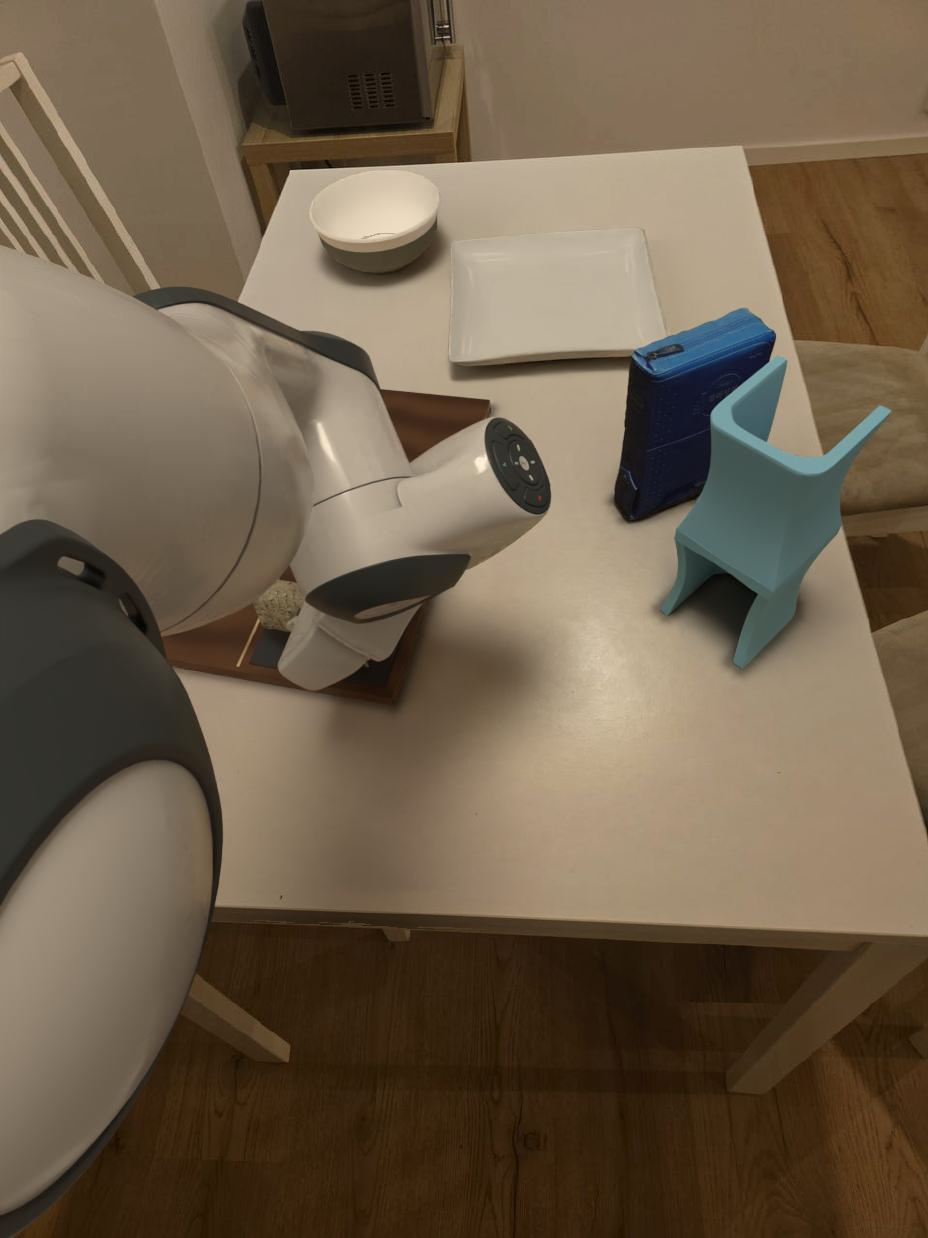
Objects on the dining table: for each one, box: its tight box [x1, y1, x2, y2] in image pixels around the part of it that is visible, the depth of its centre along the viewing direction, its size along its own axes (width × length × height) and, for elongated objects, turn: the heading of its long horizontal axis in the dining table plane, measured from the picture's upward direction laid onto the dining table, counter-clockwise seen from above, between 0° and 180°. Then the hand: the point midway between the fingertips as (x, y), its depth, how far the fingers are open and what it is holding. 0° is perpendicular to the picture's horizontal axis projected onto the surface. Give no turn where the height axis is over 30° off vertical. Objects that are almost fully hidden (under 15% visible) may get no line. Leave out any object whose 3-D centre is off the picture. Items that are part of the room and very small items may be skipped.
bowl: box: [308, 169, 442, 275], centre depth 116 cm, size 19×19×8 cm
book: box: [613, 307, 777, 521], centre depth 81 cm, size 14×5×20 cm, turn 115°
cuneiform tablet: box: [253, 580, 372, 669], centre depth 75 cm, size 7×4×12 cm
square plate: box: [447, 227, 670, 367], centre depth 107 cm, size 27×27×4 cm
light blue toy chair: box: [659, 354, 893, 670], centre depth 70 cm, size 10×10×25 cm
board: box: [162, 388, 492, 707], centre depth 90 cm, size 42×26×2 cm, turn 166°
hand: (304, 603), depth 74 cm, fingers closed on cuneiform tablet, 4 cm apart
